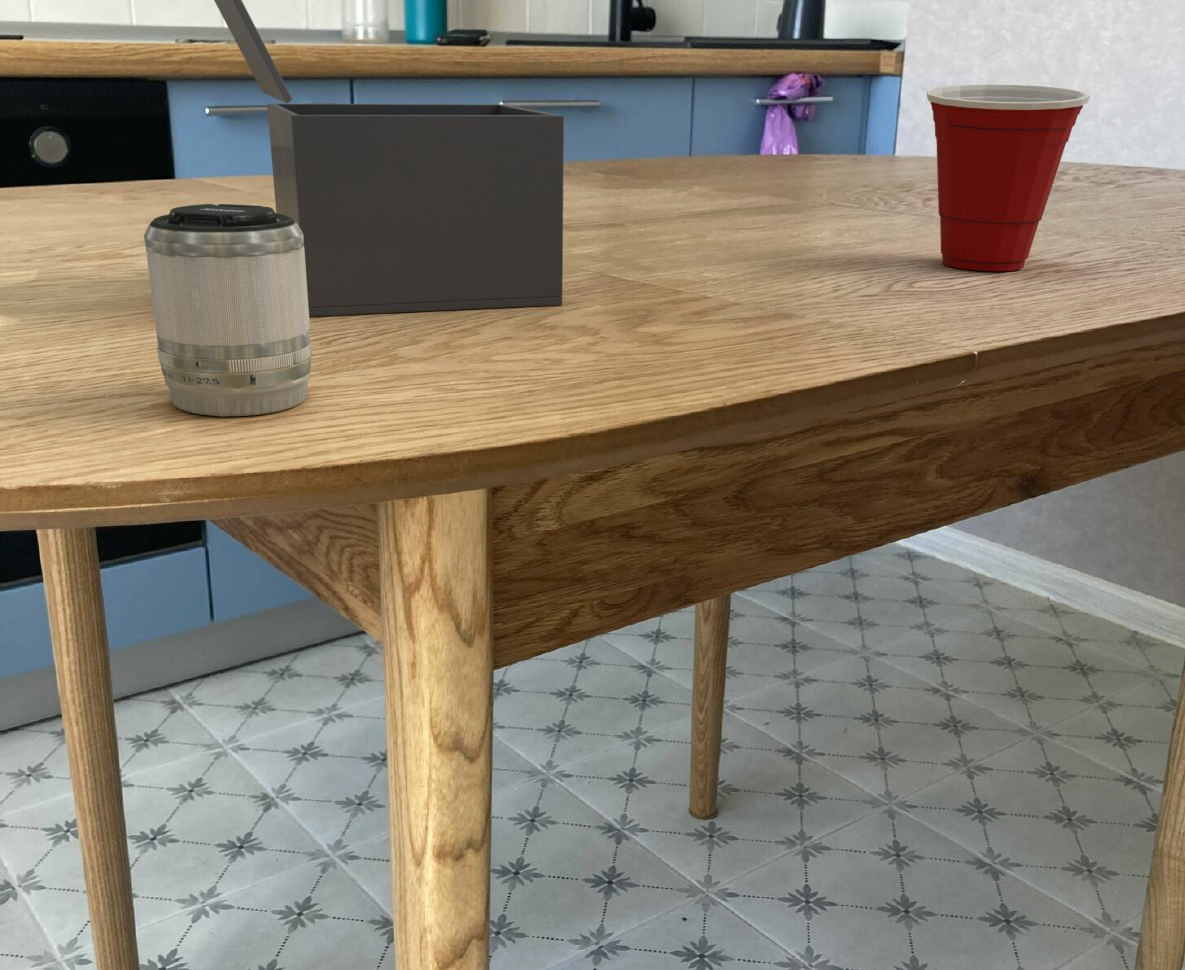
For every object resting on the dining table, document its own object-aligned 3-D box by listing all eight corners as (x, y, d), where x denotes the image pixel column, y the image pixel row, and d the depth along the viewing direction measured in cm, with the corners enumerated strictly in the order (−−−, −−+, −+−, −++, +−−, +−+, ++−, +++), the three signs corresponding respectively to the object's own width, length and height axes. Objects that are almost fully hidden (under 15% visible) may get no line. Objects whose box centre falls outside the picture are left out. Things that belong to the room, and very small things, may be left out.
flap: (292, 99, 66) (286, 103, 66) (268, 90, 77) (262, 93, 77) (217, -47, 62) (210, -43, 62) (203, -35, 73) (197, -32, 73)
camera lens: (281, 424, 51) (263, 221, 47) (136, 413, 52) (110, 215, 48) (336, 386, 56) (324, 203, 53) (205, 377, 57) (185, 197, 54)
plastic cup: (894, 271, 88) (915, 86, 83) (917, 250, 97) (937, 82, 92) (1056, 283, 85) (1088, 91, 80) (1064, 261, 94) (1093, 87, 89)
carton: (306, 316, 70) (291, 115, 66) (281, 277, 81) (267, 103, 77) (562, 305, 75) (564, 115, 70) (505, 269, 86) (503, 104, 81)
